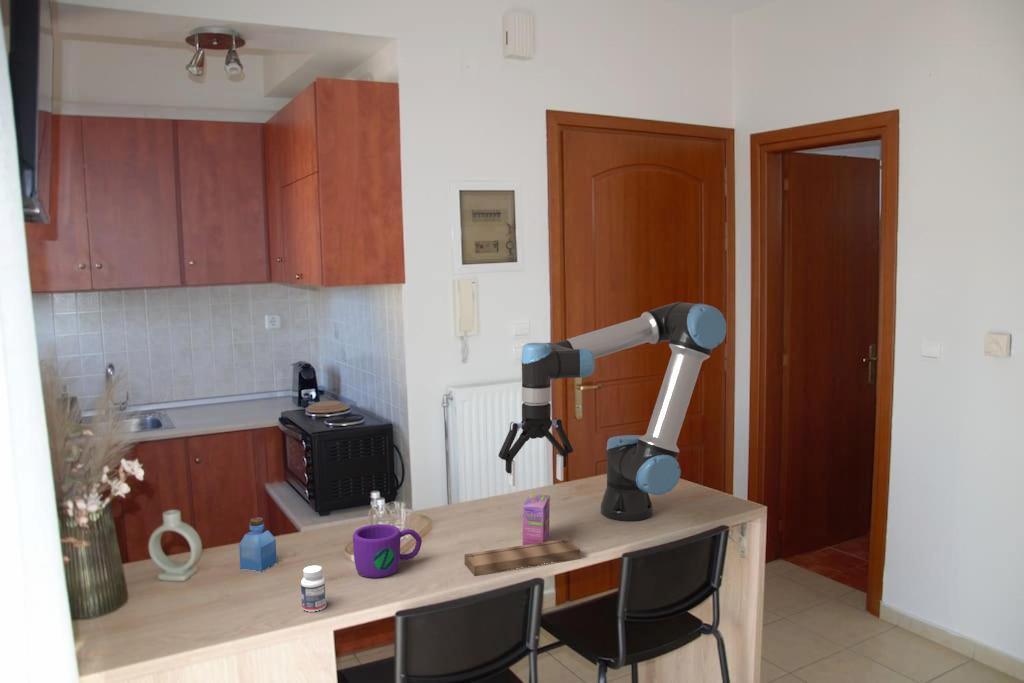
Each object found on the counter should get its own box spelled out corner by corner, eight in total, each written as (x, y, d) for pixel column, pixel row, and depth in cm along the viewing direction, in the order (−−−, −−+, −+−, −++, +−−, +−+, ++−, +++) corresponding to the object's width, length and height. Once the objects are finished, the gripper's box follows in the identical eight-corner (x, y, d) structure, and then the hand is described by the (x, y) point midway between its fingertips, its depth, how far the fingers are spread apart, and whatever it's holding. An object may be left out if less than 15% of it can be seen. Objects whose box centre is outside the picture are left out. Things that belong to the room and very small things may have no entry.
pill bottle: (304, 602, 178) (302, 564, 177) (327, 601, 178) (326, 563, 177) (300, 613, 173) (298, 574, 172) (324, 612, 173) (322, 573, 172)
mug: (362, 584, 187) (361, 543, 186) (348, 567, 197) (346, 528, 196) (431, 569, 196) (430, 529, 195) (413, 554, 206) (412, 516, 204)
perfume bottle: (276, 562, 201) (274, 516, 199) (261, 572, 195) (259, 525, 194) (256, 560, 203) (253, 514, 201) (240, 569, 197) (237, 522, 196)
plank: (566, 547, 209) (566, 538, 208) (580, 558, 201) (580, 548, 201) (464, 563, 199) (464, 553, 198) (474, 576, 191) (474, 565, 191)
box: (543, 551, 207) (543, 507, 205) (522, 549, 208) (521, 505, 206) (550, 537, 217) (550, 494, 215) (529, 535, 218) (529, 493, 216)
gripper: (573, 396, 215) (573, 473, 217) (486, 403, 206) (486, 483, 209) (585, 401, 208) (585, 480, 210) (495, 408, 199) (496, 491, 202)
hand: (536, 482), depth 210 cm, fingers open, 13 cm apart
